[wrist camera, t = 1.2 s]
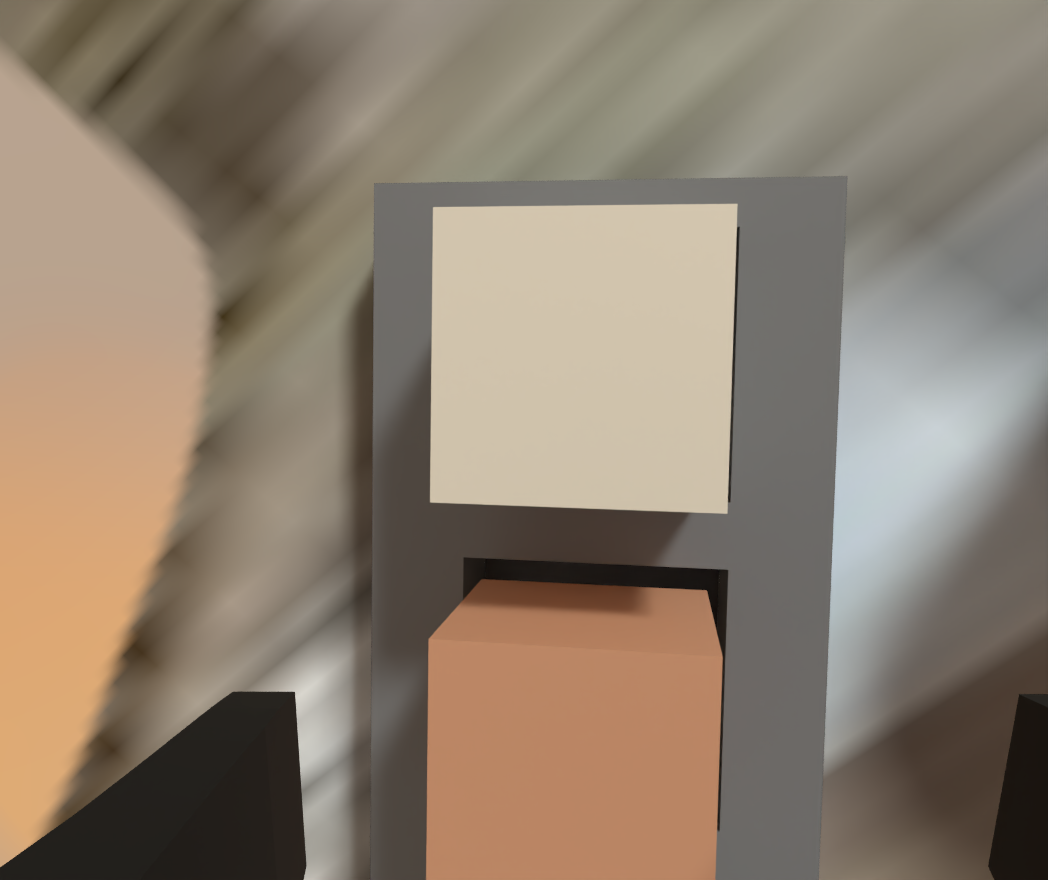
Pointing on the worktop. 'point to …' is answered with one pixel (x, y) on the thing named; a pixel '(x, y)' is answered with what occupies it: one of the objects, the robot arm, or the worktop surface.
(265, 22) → the worktop surface
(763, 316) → the compartment tray
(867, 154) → the worktop surface
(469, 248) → the block cream
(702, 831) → the block terracotta
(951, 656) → the worktop surface
